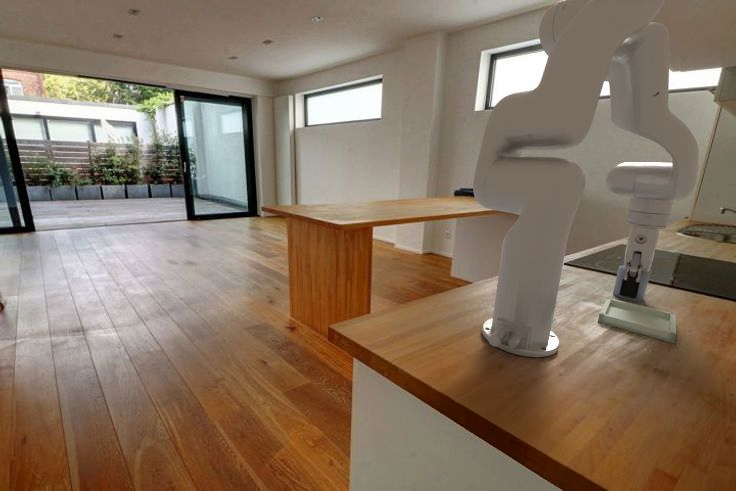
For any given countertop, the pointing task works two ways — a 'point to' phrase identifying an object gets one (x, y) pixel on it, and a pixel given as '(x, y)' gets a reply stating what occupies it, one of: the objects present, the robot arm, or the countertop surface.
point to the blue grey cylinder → (643, 278)
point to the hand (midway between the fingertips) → (628, 292)
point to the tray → (639, 319)
